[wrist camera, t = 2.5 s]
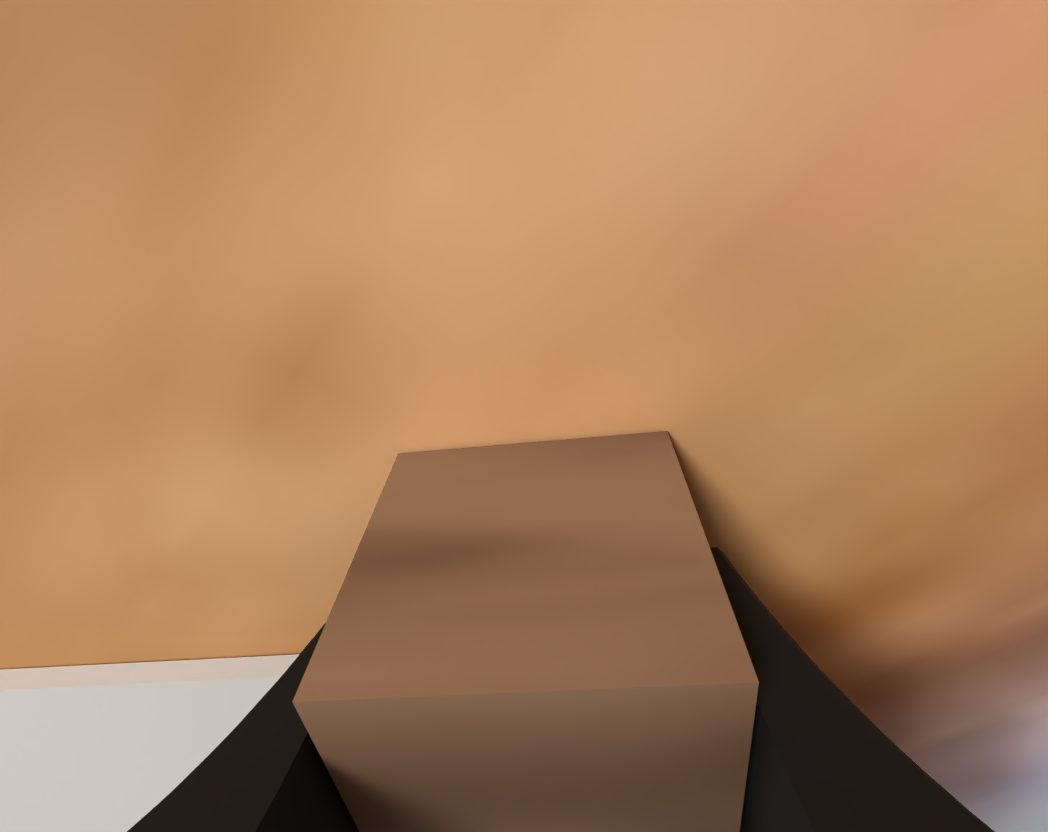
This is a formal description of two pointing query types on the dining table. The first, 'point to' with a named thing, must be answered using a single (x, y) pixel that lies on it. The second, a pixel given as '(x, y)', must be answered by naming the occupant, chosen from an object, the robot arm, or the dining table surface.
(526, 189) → the dining table surface
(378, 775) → the walnut cube
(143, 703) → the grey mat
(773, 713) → the robot arm
